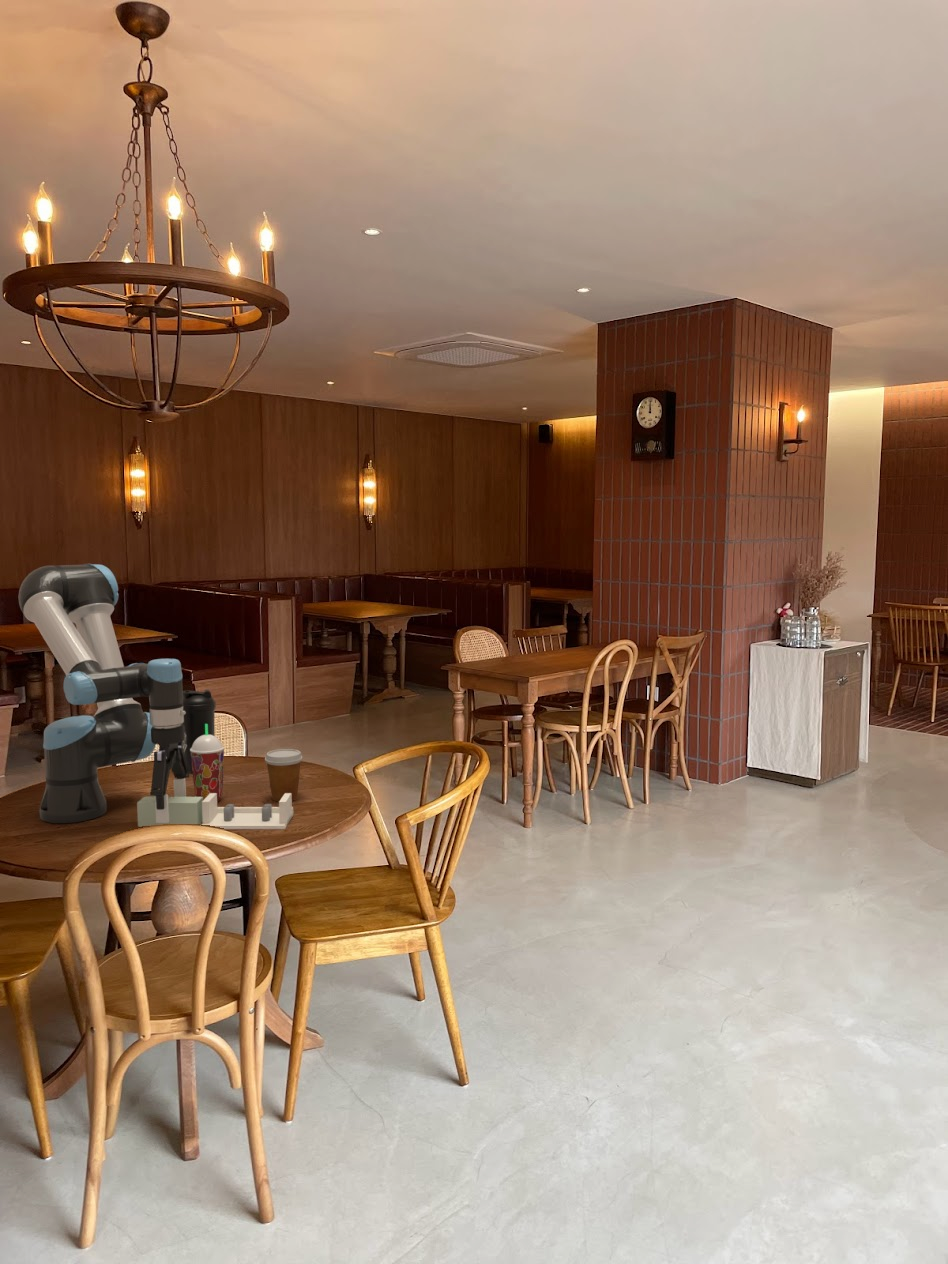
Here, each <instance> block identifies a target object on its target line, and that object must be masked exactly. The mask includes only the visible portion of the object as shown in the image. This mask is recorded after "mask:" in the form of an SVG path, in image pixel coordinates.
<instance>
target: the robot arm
mask: <svg viewBox="0 0 948 1264" xmlns="http://www.w3.org/2000/svg"><path fill="white" fill-rule="evenodd" d="M118 591H119V585H118V582H117V579H116V576H115V575H114V573H113V571H111V569H110V568H108V567H107V566H105V565H103V564H96V563H95V564H94V563H93V564H92V563H84V564H67V565H66V564H64V565H63V564H62V565H44V566H41V567H38V568H36V569H34V570H32V571H31V572H29V573H28V575H27V576H26V577H24V580H23V581H22V582H21V584H20V587H19V591H18V604H19V608H20V610H21V612H22V614H23V615H24V617H25V618H26V619H27V620H28V621H29V622H31V623H34V624H35V626H36V628H37V629H38V631H39V633H40V634H41V636H42V639H43V640H44V641H45V643H46V645H47V646H48V648H49V649H50V651H51V653H52V654H53V656H54V658H55V659H56V660H57V663H58V664H59V666H60V668H61V669H62V670H63V672H64V674H65V677H64V678H63V679H64V680H63V693H64V695H65V699H66V700H67V702H68V703H69V704H71V705H73V706H80V705H93V704H97V705H96V706H97V710H96V712H95V713H94V715H93V716H92V715H84V714H82V715H78V716H76V715H75V716H74V715H73V716H69V717H65V718H61V719H59V720H55V721H53V722H51V723H50V724H48V725H47V726H46V727H45V728H44V731H43V744H42V747H43V755H44V771H45V772H44V773H45V789H44V792H43V796H42V799H41V803H40V806H39V819H40V820H41V821H43V822H46V823H50V824H51V823H52V824H71V823H72V824H73V823H79V822H85V821H90V820H92V819H96V818H99V817H101V816H103V815H105V814H106V813H107V812H108V808H107V799H106V797H105V795H104V792H103V789H102V787H101V785H100V782H99V778H98V777H99V775H98V769H99V768H105V767H108V766H115V765H119V764H123V763H124V764H125V763H130V762H131V763H133V762H136V761H138V760H144V759H147V758H149V757H150V756H151V755H152V753H153V770H152V779H151V787H150V791H149V792H150V793H149V794H150V796H151V797H155V811H156V823H168V822H169V812H168V797H169V795H168V793H167V790H168V789H167V788H168V784H169V778H170V773H171V771H172V775H173V776H174V779H172V780H173V781H172V782H173V797H187V787H186V785H187V784H186V779H188V778H190V773H188V767H187V763H186V759H185V754H184V750H183V741H184V739H185V731H184V726H183V725H182V723H183V722H184V715H185V714H186V712H185V711H183V691H184V690H183V687H184V686H183V675H184V674H183V672H182V664H181V662H180V660H179V659H176V658H157V659H152V660H150V661H148V663H146V662H145V663H144V662H139V663H138V662H135V663H131V664H129V665H127V666H125V665H124V662H123V659H122V655H121V651H120V648H119V644H118V641H117V640H118V639H117V636H116V634H115V629H114V626H113V622H112V619H111V615H112V614H113V612H114V610H115V606H116V604H117V603H118V600H119V596H120V595H119V593H118ZM138 697H139V698H141V697H147V698H148V699H149V712H147V711H143V708H142V705H141V703H140V702H138V701H136V700H134V699H133V698H138ZM156 745H158V750H157V751H155V748H156Z"/></svg>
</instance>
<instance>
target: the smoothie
mask: <svg viewBox="0 0 948 1264" xmlns="http://www.w3.org/2000/svg"><path fill="white" fill-rule="evenodd" d="M224 750H225V746H224V745H223V743H222V742H221V740H220V739H219V738H218V737H217V736H215V735H214V736H213V735H210V734H208V724H205V735H202V736H200V737H198V738H197V739H196V740H195V741H194V743H193V745H192V748H191V749H190V752H191V762H192V772H193V774H192V779H193V780H192V781H193V788H194V789H193V790H194V791H193V792H194V797H203V800H204V799H205V798H206V797H207V796H208V795H209V794H210V793H217V803H218V802H219V801H221V799H222V796H223V794H224V793H223V792H224V791H223V790H224V788H223V787H224V761H225V760H224V759H225V751H224Z"/></svg>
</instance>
